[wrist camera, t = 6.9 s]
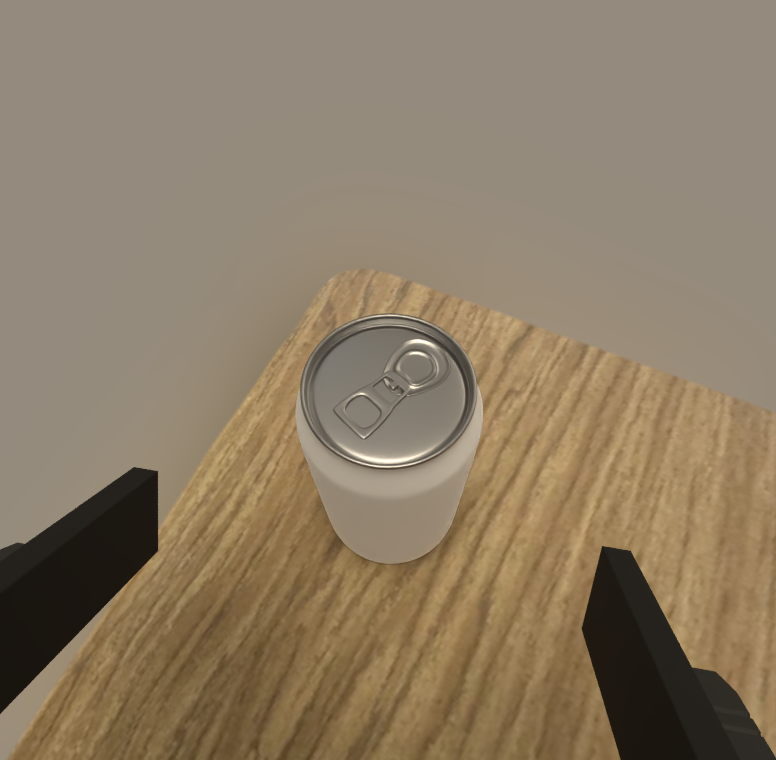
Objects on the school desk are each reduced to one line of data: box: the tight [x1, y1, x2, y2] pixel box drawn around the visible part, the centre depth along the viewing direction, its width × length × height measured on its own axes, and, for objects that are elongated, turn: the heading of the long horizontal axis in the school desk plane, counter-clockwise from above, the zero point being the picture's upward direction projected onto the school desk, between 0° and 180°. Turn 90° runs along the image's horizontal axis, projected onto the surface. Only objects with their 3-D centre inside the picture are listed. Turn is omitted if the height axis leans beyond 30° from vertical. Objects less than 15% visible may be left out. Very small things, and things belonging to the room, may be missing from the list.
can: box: [296, 314, 483, 564], centre depth 22 cm, size 6×6×12 cm
